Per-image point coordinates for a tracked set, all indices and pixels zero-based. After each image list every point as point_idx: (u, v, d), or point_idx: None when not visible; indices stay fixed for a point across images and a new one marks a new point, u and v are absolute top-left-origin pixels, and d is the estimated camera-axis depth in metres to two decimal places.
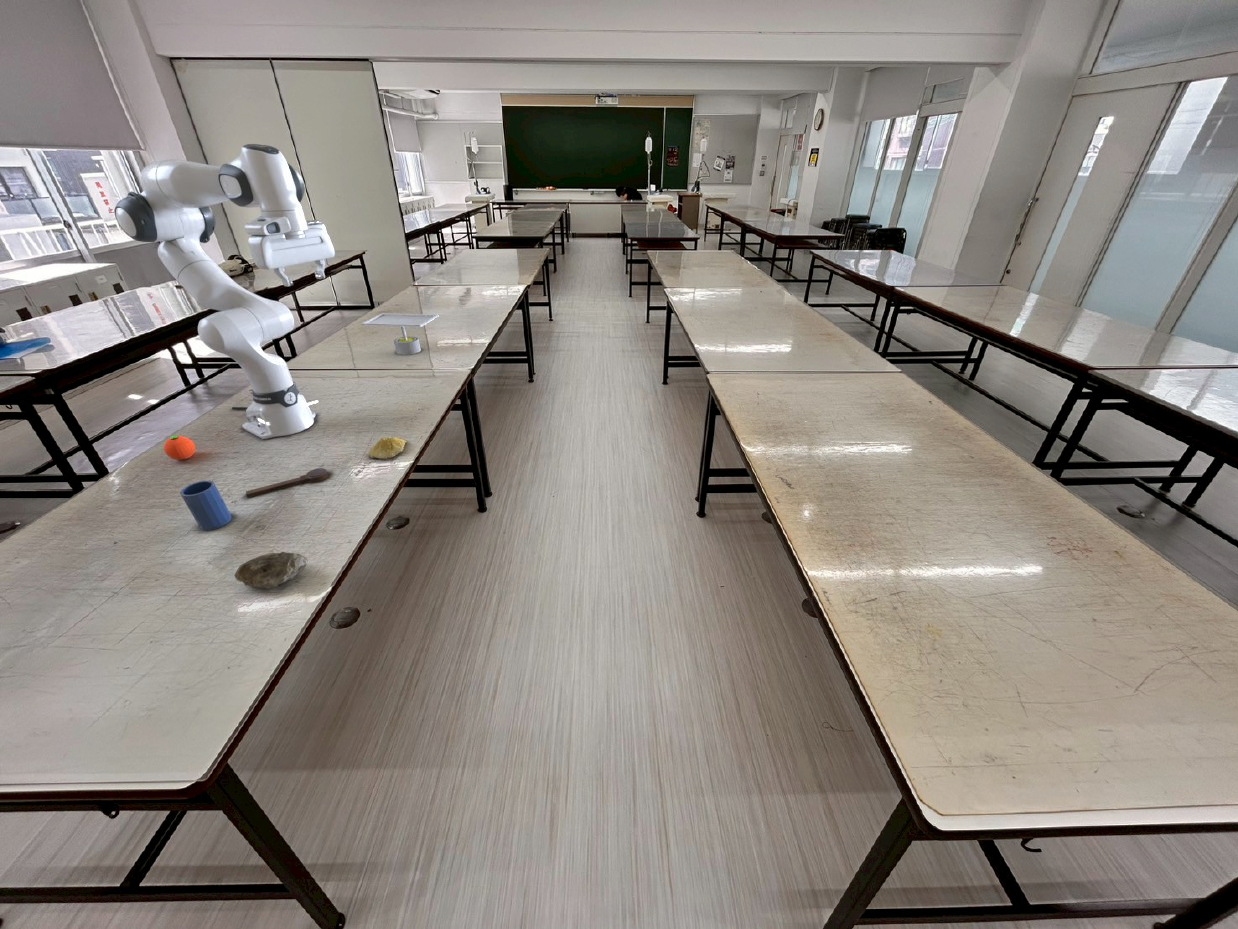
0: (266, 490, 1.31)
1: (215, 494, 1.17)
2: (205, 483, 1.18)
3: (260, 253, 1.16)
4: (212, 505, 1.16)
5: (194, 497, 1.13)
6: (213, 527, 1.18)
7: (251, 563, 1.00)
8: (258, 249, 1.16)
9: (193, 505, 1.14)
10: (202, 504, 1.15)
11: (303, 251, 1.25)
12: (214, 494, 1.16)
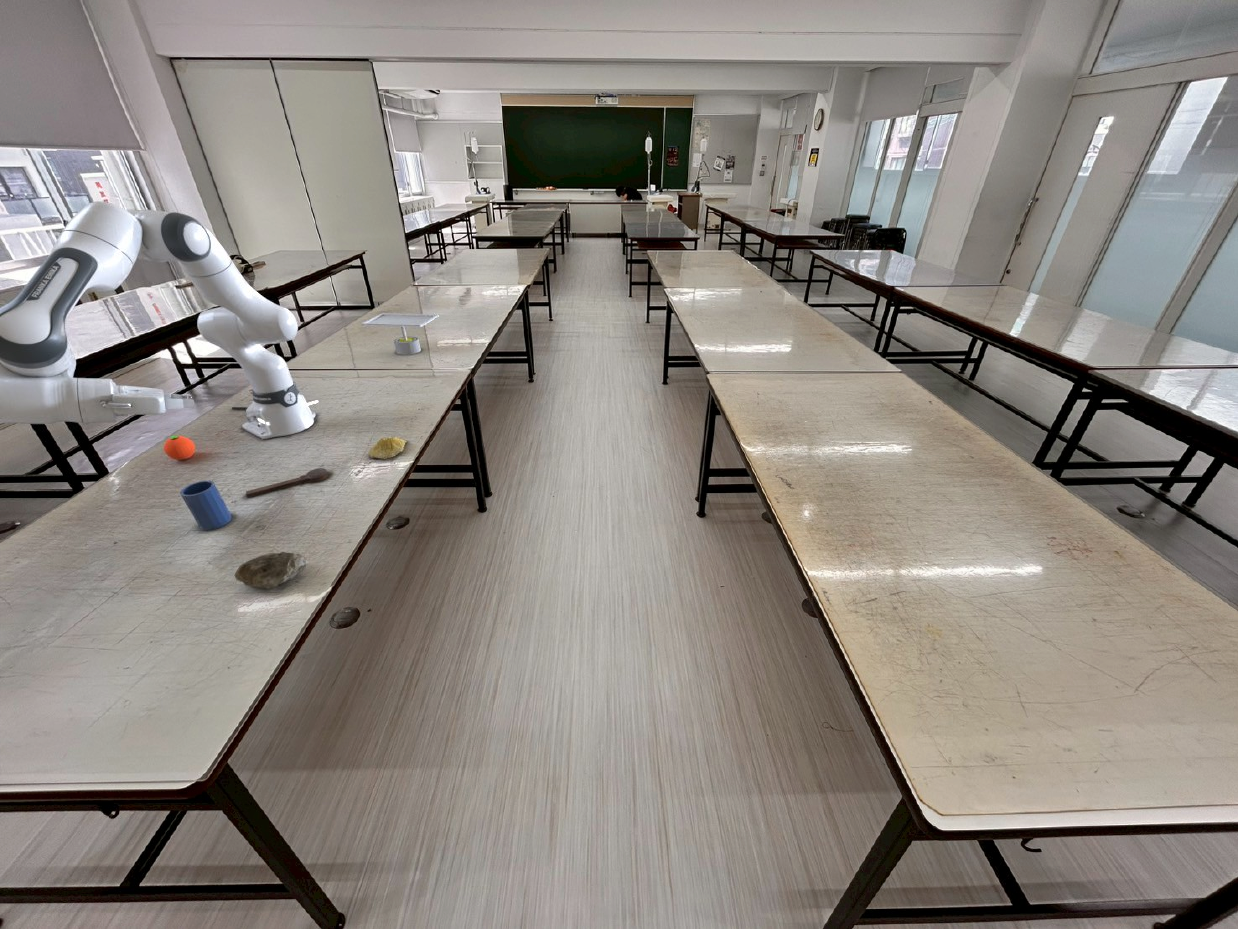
0: (266, 490, 1.31)
1: (215, 494, 1.17)
2: (205, 483, 1.18)
3: None
4: (212, 505, 1.16)
5: (194, 497, 1.13)
6: (213, 527, 1.18)
7: (251, 563, 1.00)
8: None
9: (193, 505, 1.14)
10: (202, 504, 1.15)
11: None
12: (214, 494, 1.16)
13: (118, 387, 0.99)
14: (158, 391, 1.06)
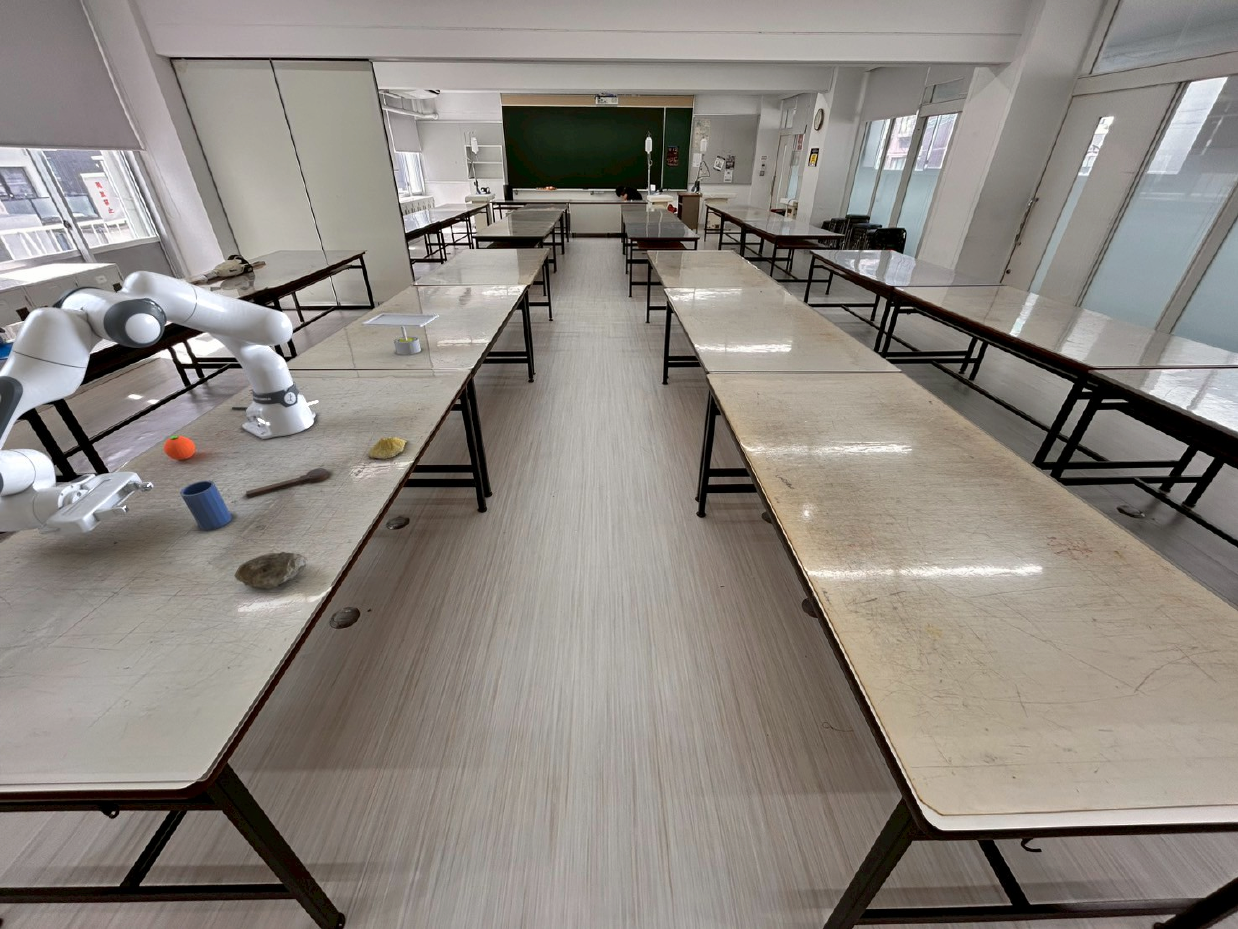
0: (266, 490, 1.31)
1: (215, 494, 1.17)
2: (205, 483, 1.18)
3: None
4: (212, 505, 1.16)
5: (194, 497, 1.13)
6: (213, 527, 1.18)
7: (251, 563, 1.00)
8: None
9: (193, 505, 1.14)
10: (202, 504, 1.15)
11: None
12: (214, 494, 1.16)
13: (69, 497, 1.09)
14: (113, 488, 1.13)
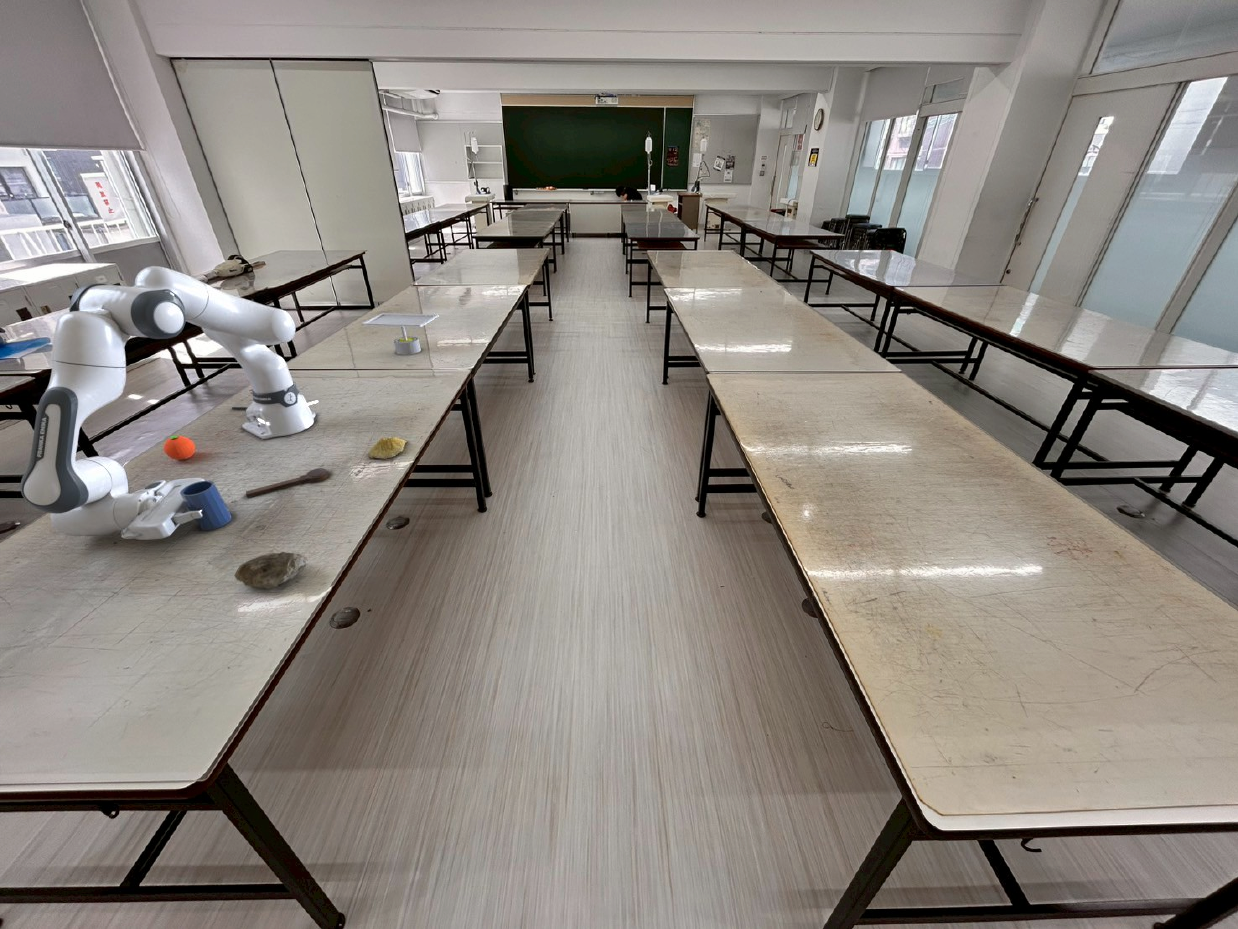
0: (266, 490, 1.31)
1: (215, 494, 1.17)
2: (205, 483, 1.18)
3: None
4: (212, 505, 1.16)
5: (194, 497, 1.13)
6: (213, 527, 1.18)
7: (251, 563, 1.00)
8: None
9: (193, 505, 1.14)
10: (202, 504, 1.15)
11: None
12: (214, 494, 1.16)
13: (146, 503, 1.13)
14: None
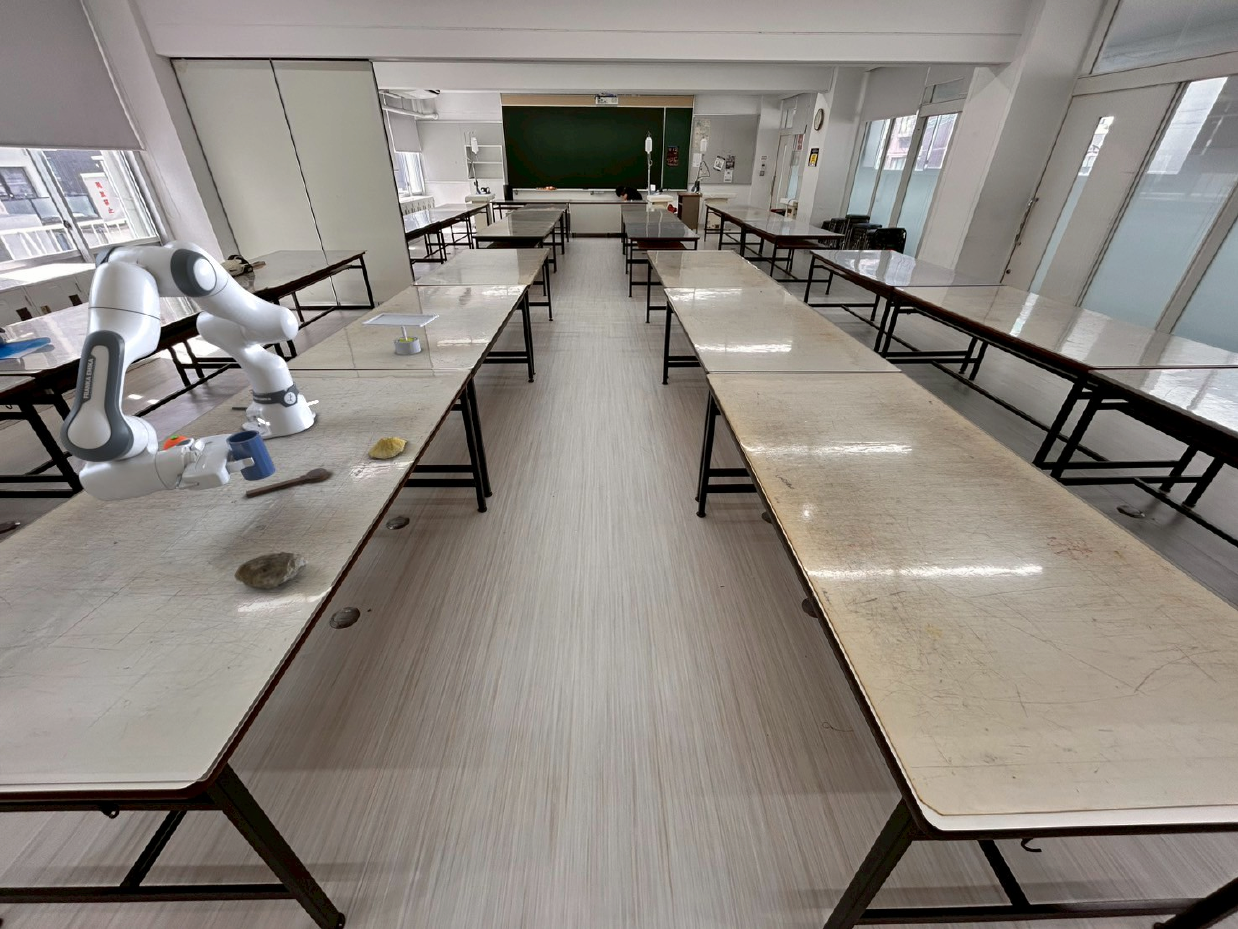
0: (266, 490, 1.31)
1: (262, 442, 1.14)
2: (246, 433, 1.15)
3: None
4: (261, 453, 1.14)
5: (245, 444, 1.11)
6: (262, 477, 1.15)
7: (251, 563, 1.00)
8: None
9: (243, 453, 1.11)
10: (252, 451, 1.12)
11: None
12: (262, 442, 1.14)
13: (189, 456, 1.08)
14: (225, 446, 1.14)
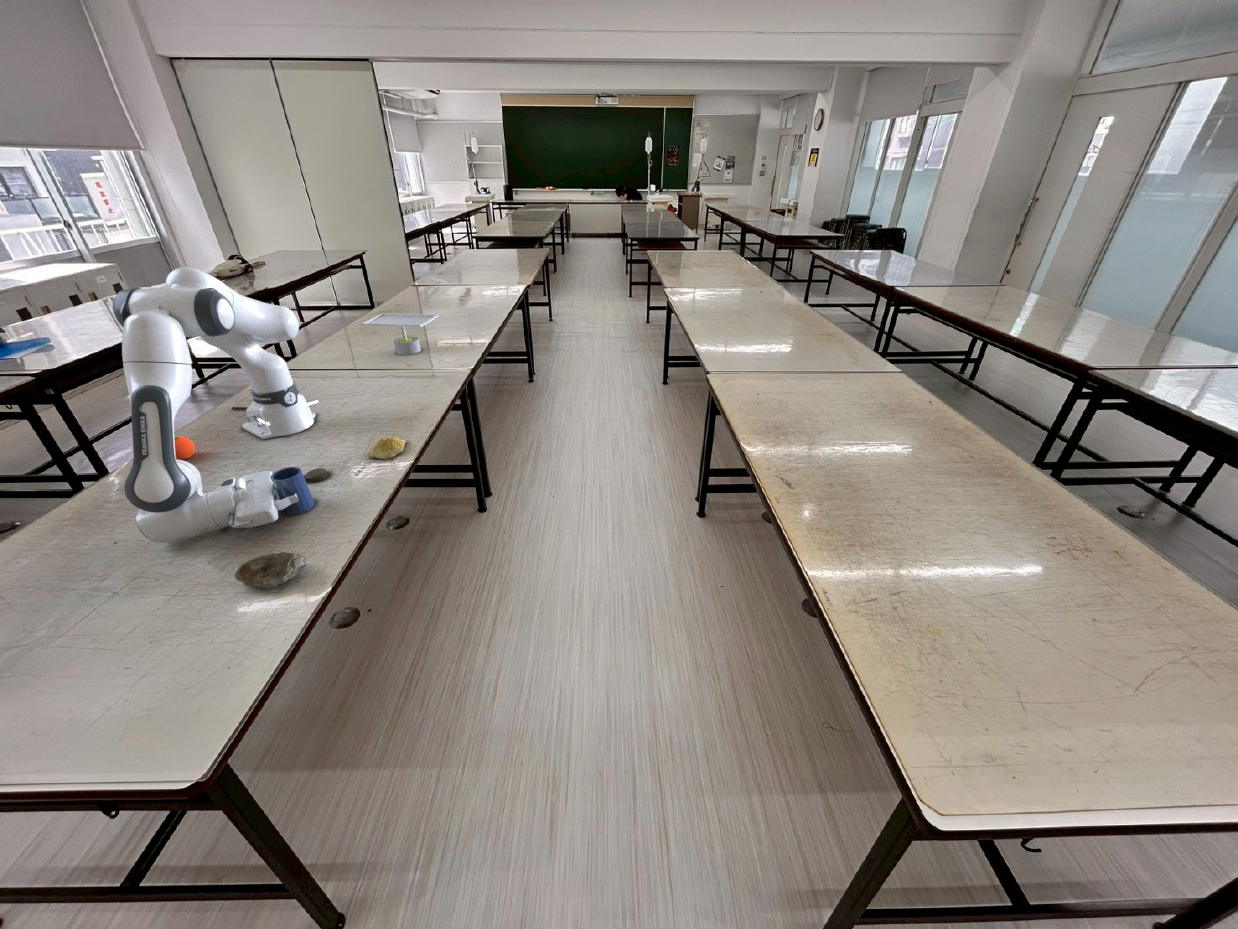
0: None
1: (303, 477, 1.22)
2: (287, 470, 1.23)
3: None
4: (303, 488, 1.22)
5: (290, 481, 1.19)
6: (304, 510, 1.23)
7: (251, 563, 1.00)
8: None
9: (287, 489, 1.19)
10: (296, 487, 1.20)
11: None
12: (303, 477, 1.22)
13: (237, 495, 1.16)
14: (268, 484, 1.21)
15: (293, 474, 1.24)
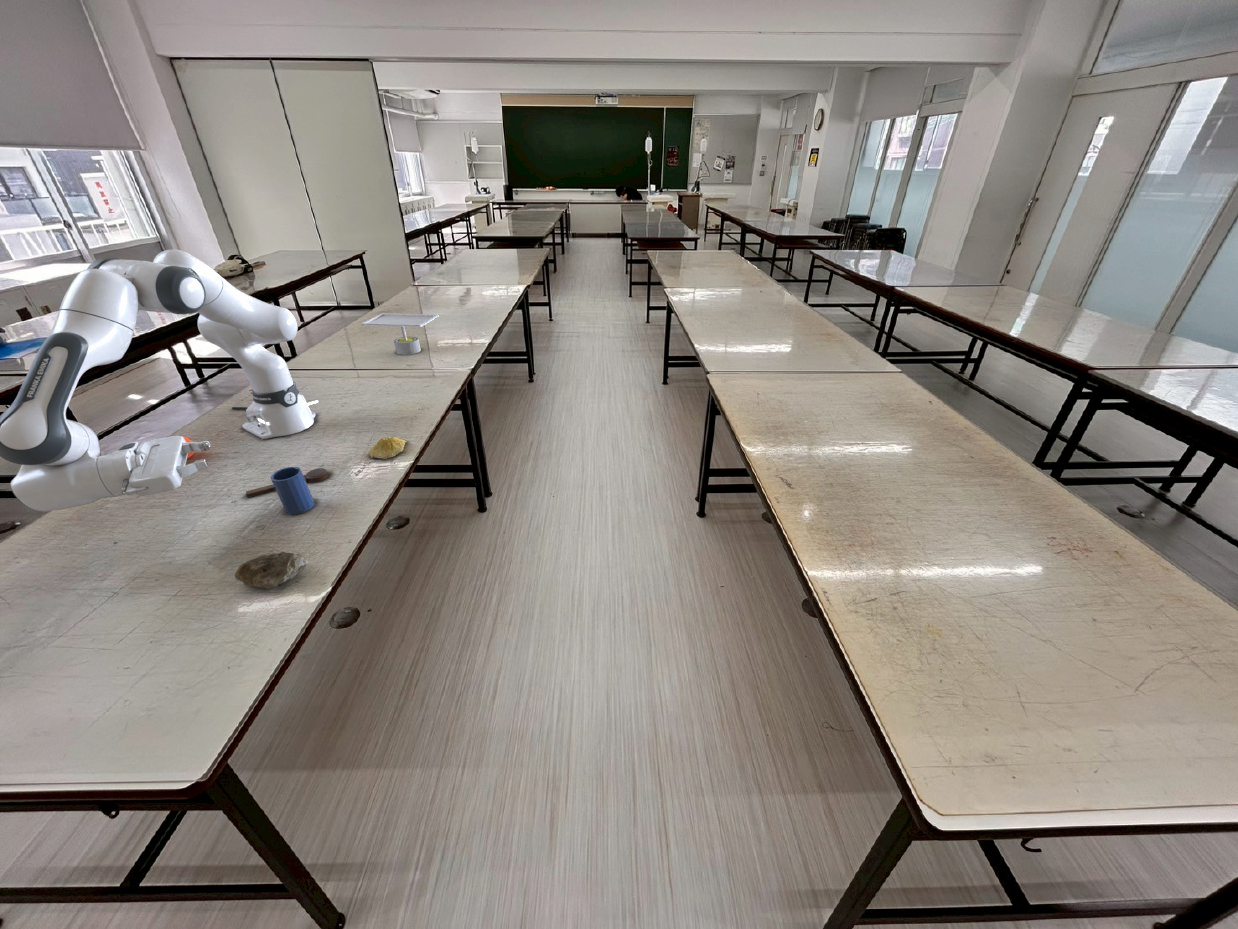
0: (266, 490, 1.31)
1: (303, 477, 1.22)
2: (287, 470, 1.23)
3: None
4: (303, 488, 1.22)
5: (290, 481, 1.19)
6: (304, 510, 1.23)
7: (251, 563, 1.00)
8: None
9: (287, 489, 1.19)
10: (296, 487, 1.20)
11: None
12: (303, 477, 1.22)
13: (135, 460, 1.03)
14: (174, 449, 1.08)
15: (293, 474, 1.24)
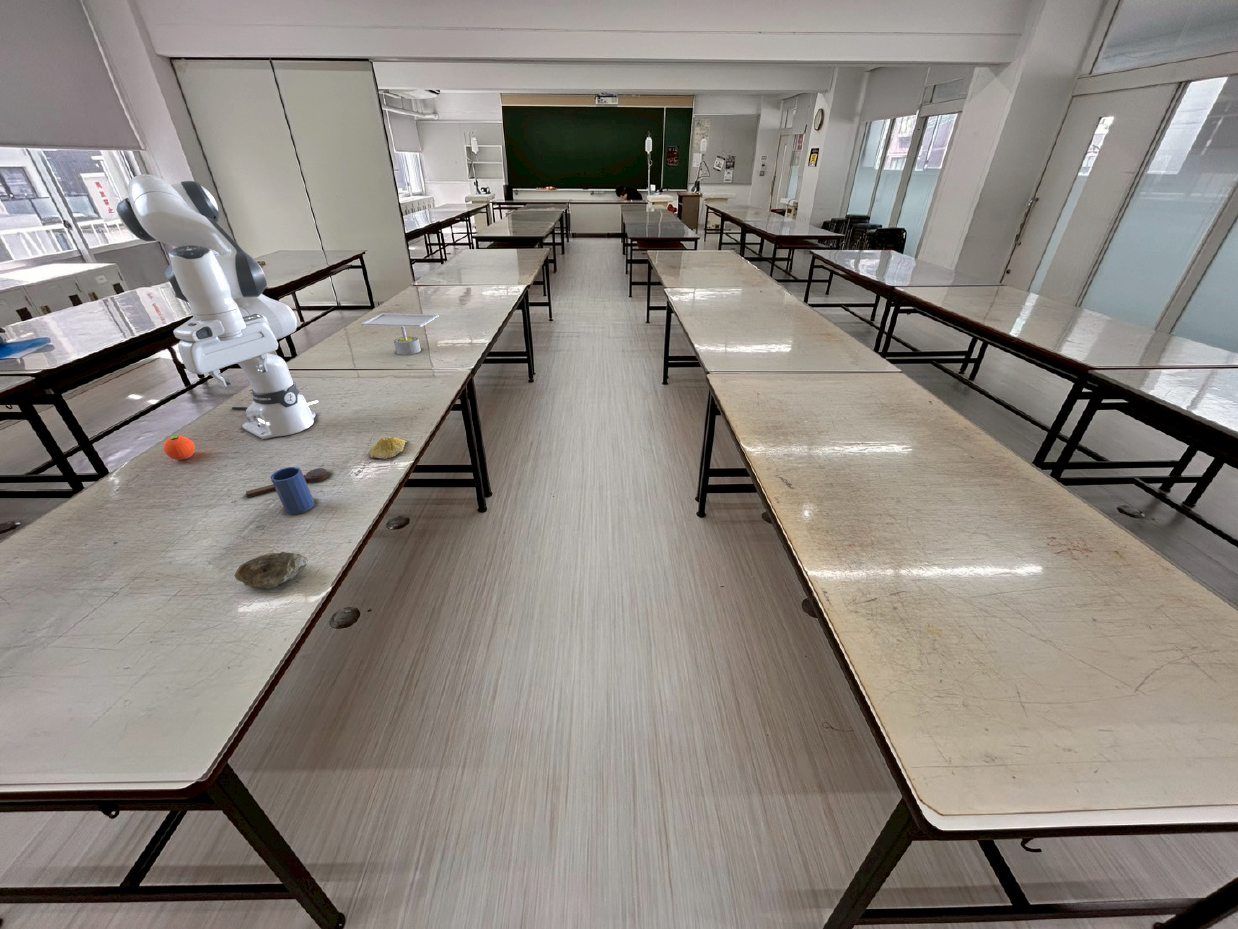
0: (266, 490, 1.31)
1: (303, 477, 1.22)
2: (287, 470, 1.23)
3: (191, 359, 1.09)
4: (303, 488, 1.22)
5: (290, 481, 1.19)
6: (304, 510, 1.23)
7: (251, 563, 1.00)
8: (188, 356, 1.09)
9: (287, 489, 1.19)
10: (296, 487, 1.20)
11: (241, 349, 1.18)
12: (303, 477, 1.22)
13: None
14: None
15: (293, 474, 1.24)
